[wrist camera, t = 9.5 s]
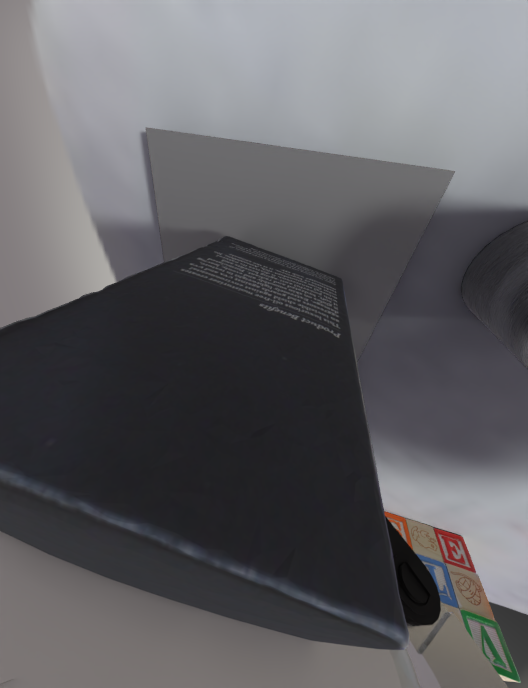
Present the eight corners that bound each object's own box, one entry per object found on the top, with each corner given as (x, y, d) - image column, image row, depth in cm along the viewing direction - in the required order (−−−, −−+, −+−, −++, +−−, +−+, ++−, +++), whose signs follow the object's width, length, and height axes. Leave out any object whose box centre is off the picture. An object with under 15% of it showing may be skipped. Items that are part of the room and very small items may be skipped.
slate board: (443, 173, 9) (455, 171, 8) (320, 425, 20) (319, 435, 19) (159, 132, 10) (145, 127, 10) (187, 386, 21) (182, 393, 20)
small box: (281, 410, 16) (228, 640, 8) (201, 378, 16) (67, 568, 8) (353, 278, 10) (480, 743, 2) (221, 230, 10) (-296, 396, 2)
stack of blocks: (464, 533, 24) (558, 769, 14) (433, 548, 28) (491, 743, 18) (276, 476, 27) (247, 636, 17) (271, 496, 31) (244, 638, 21)
